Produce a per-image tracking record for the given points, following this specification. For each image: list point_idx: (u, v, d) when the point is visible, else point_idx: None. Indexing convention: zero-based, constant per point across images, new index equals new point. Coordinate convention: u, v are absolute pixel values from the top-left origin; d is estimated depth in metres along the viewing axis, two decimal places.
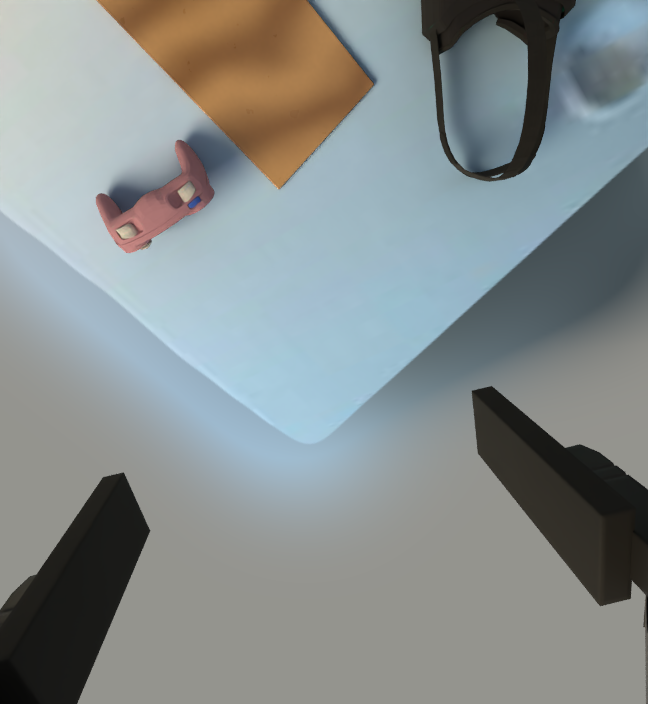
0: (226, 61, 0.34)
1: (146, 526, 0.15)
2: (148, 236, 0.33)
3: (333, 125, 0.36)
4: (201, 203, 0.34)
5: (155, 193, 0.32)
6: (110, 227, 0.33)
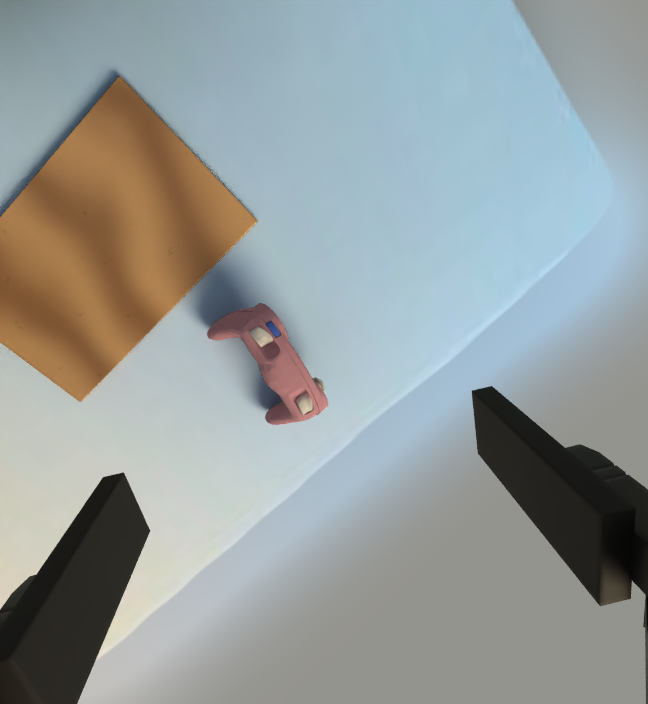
0: (121, 274, 0.30)
1: (146, 526, 0.15)
2: (311, 383, 0.29)
3: (175, 140, 0.27)
4: (274, 320, 0.28)
5: (264, 370, 0.28)
6: (300, 419, 0.30)
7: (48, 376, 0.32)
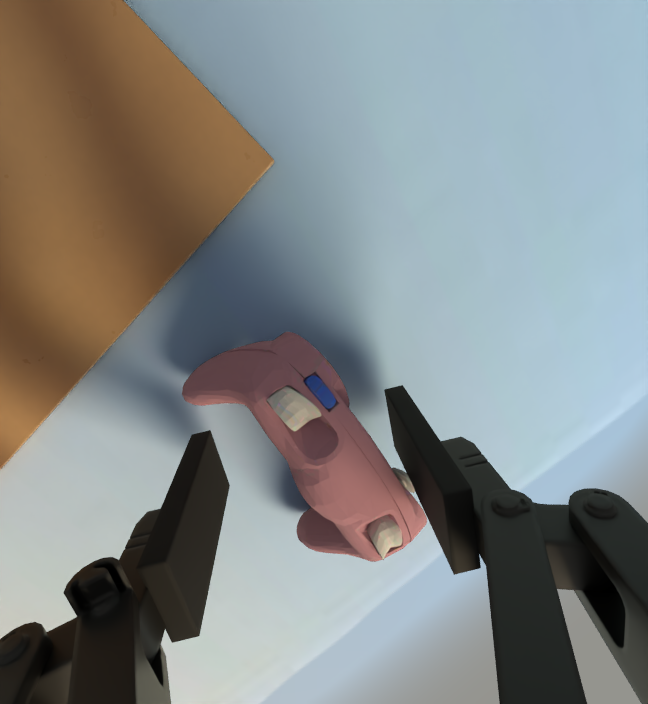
0: (1, 280, 0.15)
1: (227, 480, 0.17)
2: (401, 500, 0.13)
3: None
4: (322, 372, 0.12)
5: (302, 482, 0.13)
6: None
7: None
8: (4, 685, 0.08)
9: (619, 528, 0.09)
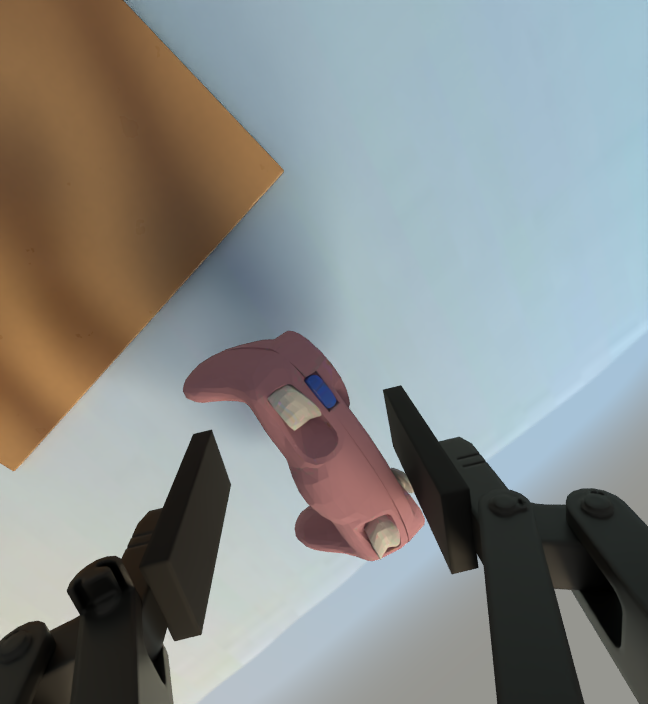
0: (61, 268, 0.18)
1: (228, 480, 0.17)
2: (400, 500, 0.13)
3: (137, 26, 0.15)
4: (323, 372, 0.12)
5: (301, 480, 0.13)
6: (370, 560, 0.15)
7: None
8: (7, 683, 0.08)
9: (616, 528, 0.09)
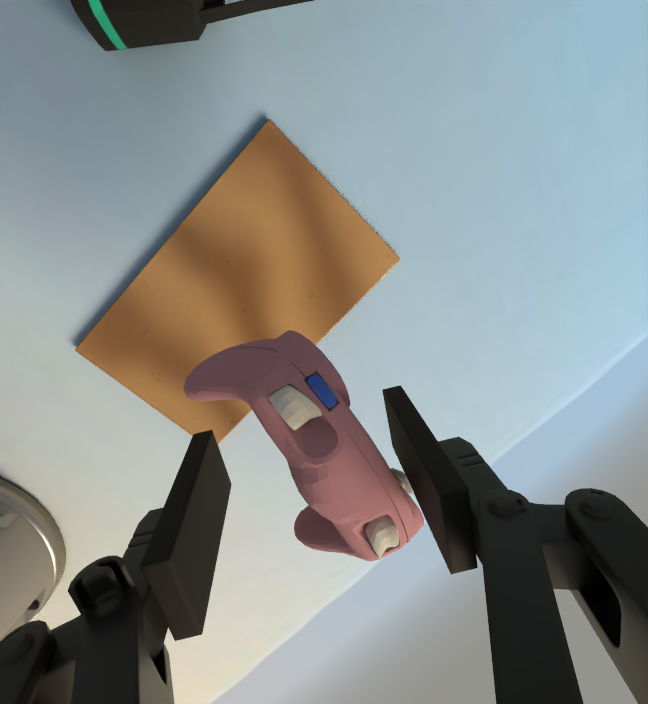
0: (260, 320, 0.29)
1: (229, 479, 0.17)
2: (399, 501, 0.13)
3: (322, 181, 0.26)
4: (324, 372, 0.12)
5: (301, 480, 0.13)
6: (369, 560, 0.15)
7: (181, 426, 0.31)
8: (8, 683, 0.08)
9: (615, 528, 0.09)
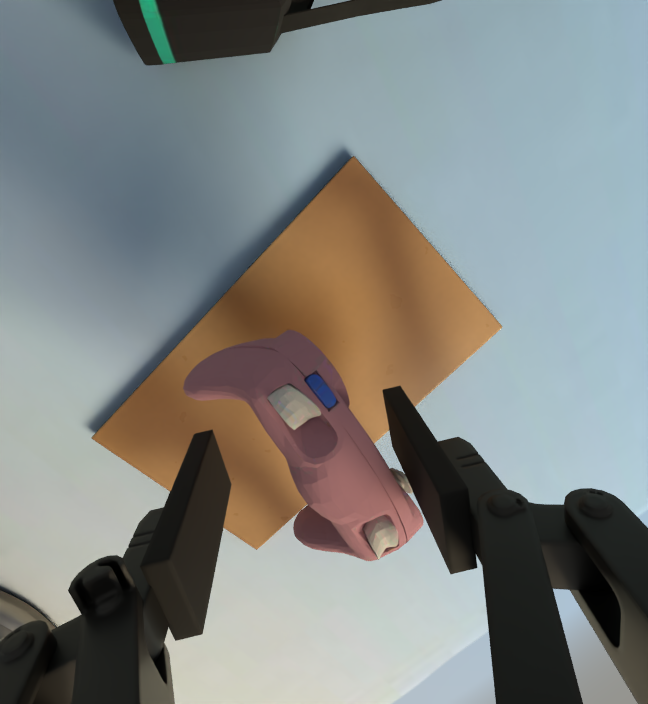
0: None
1: (229, 479, 0.17)
2: (399, 501, 0.13)
3: (415, 234, 0.20)
4: (323, 371, 0.12)
5: (300, 480, 0.13)
6: (369, 560, 0.15)
7: None
8: (8, 683, 0.08)
9: (614, 528, 0.09)
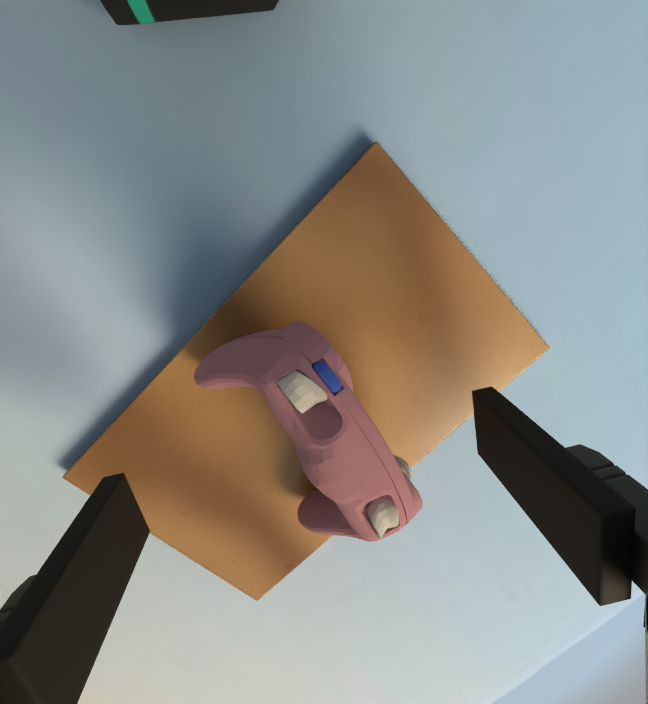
0: None
1: (146, 526, 0.15)
2: (400, 482, 0.14)
3: (449, 237, 0.17)
4: (329, 358, 0.13)
5: (307, 461, 0.14)
6: None
7: (216, 572, 0.22)
8: None
9: None
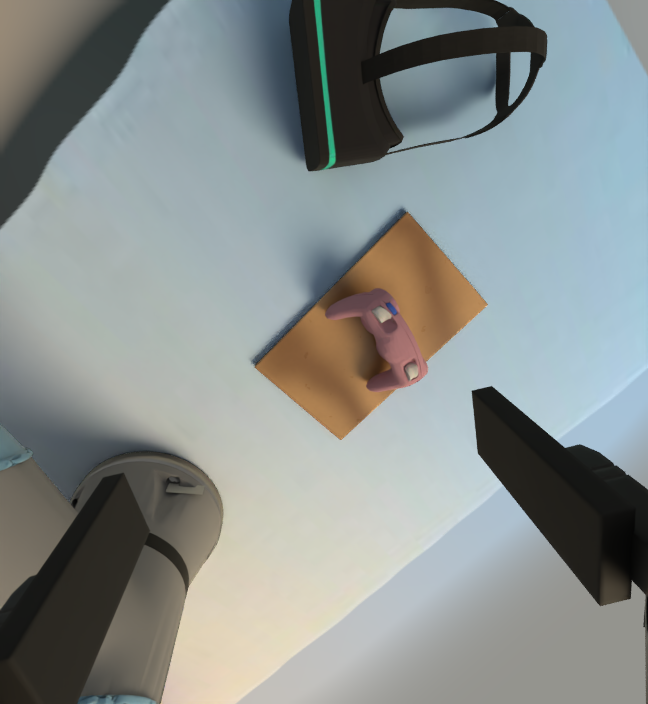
0: None
1: (146, 526, 0.15)
2: (418, 353, 0.35)
3: (439, 252, 0.38)
4: (391, 301, 0.34)
5: (382, 343, 0.34)
6: (405, 384, 0.36)
7: (321, 422, 0.42)
8: None
9: None
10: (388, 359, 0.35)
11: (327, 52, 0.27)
